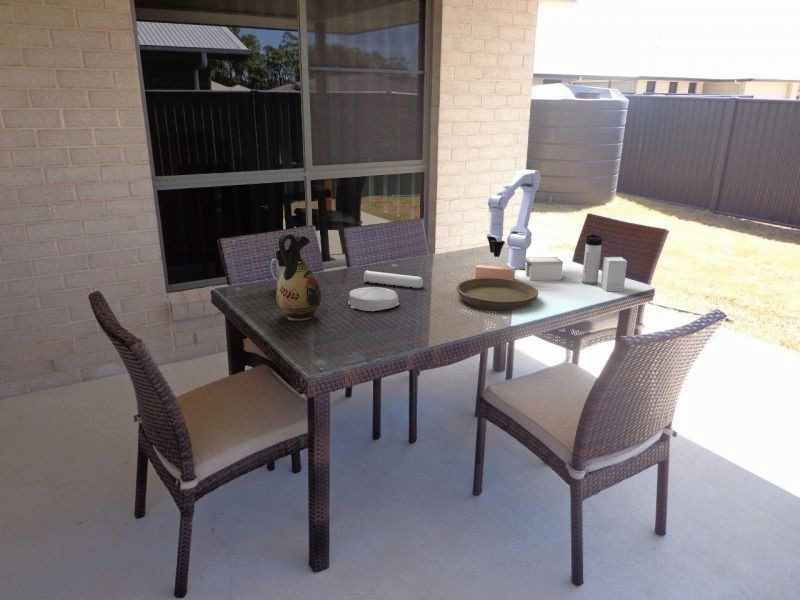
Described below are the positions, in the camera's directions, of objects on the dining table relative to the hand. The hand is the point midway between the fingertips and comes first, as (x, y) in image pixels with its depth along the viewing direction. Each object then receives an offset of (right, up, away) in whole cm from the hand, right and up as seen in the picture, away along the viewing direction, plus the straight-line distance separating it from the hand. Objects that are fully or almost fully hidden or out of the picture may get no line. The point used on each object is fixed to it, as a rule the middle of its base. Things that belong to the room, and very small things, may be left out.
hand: (494, 254), depth 262 cm
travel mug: (+39, -13, -7) cm, 41 cm away
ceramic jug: (-77, -26, -50) cm, 95 cm away
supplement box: (+45, -15, -15) cm, 50 cm away
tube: (-43, -14, -11) cm, 47 cm away
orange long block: (0, -10, -1) cm, 11 cm away
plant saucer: (-4, -20, -29) cm, 35 cm away
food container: (-51, -21, -35) cm, 65 cm away
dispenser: (+20, -10, 0) cm, 22 cm away
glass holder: (-88, -16, -19) cm, 91 cm away
